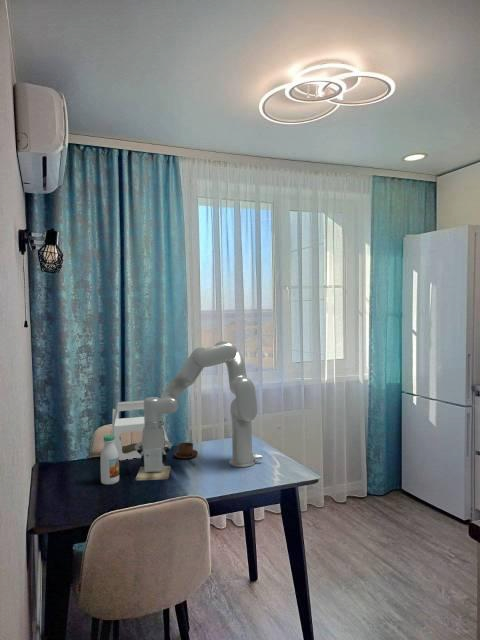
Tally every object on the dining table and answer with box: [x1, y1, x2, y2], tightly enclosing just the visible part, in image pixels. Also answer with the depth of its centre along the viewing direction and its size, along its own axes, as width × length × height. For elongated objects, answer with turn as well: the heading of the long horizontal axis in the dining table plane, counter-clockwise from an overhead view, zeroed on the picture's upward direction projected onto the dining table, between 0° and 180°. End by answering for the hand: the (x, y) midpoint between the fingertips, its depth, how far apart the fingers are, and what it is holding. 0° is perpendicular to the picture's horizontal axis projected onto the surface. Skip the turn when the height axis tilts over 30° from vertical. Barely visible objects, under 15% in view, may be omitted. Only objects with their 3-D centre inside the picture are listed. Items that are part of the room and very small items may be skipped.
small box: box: [143, 448, 165, 472], centre depth 210 cm, size 8×6×10 cm
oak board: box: [135, 465, 172, 481], centre depth 210 cm, size 14×14×1 cm
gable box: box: [111, 399, 145, 461], centre depth 239 cm, size 22×13×28 cm, turn 108°
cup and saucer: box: [173, 441, 198, 459], centre depth 235 cm, size 12×12×6 cm
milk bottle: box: [100, 434, 120, 485], centre depth 202 cm, size 8×8×20 cm
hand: (154, 462), depth 210 cm, fingers closed on small box, 8 cm apart
